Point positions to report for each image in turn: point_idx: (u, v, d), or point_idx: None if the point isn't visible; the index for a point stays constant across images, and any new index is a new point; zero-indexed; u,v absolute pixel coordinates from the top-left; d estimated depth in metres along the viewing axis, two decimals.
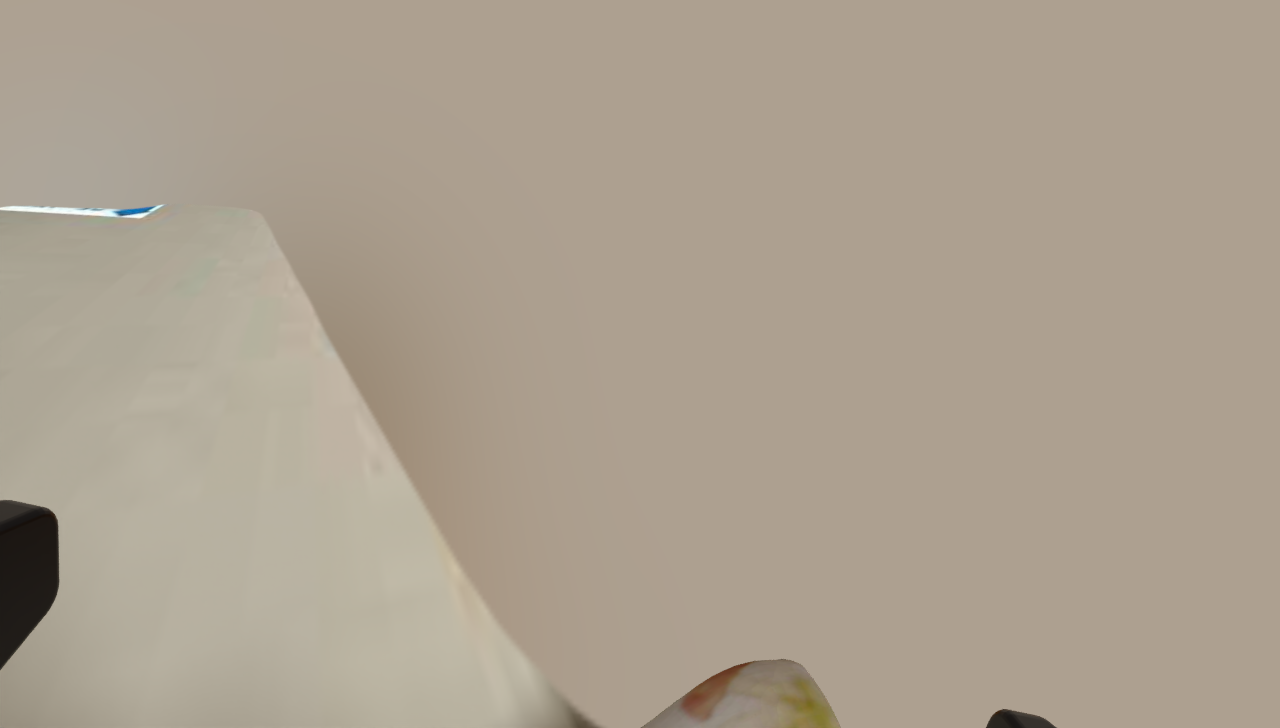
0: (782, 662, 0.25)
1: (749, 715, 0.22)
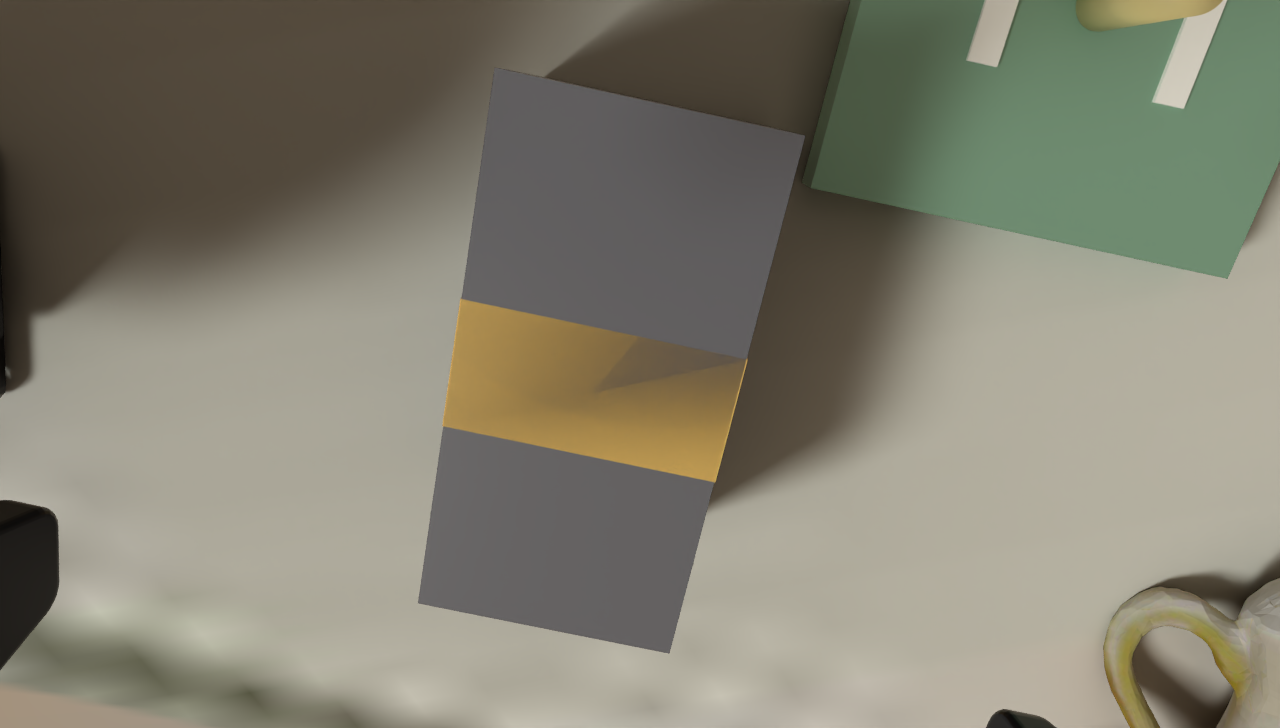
0: None
1: None
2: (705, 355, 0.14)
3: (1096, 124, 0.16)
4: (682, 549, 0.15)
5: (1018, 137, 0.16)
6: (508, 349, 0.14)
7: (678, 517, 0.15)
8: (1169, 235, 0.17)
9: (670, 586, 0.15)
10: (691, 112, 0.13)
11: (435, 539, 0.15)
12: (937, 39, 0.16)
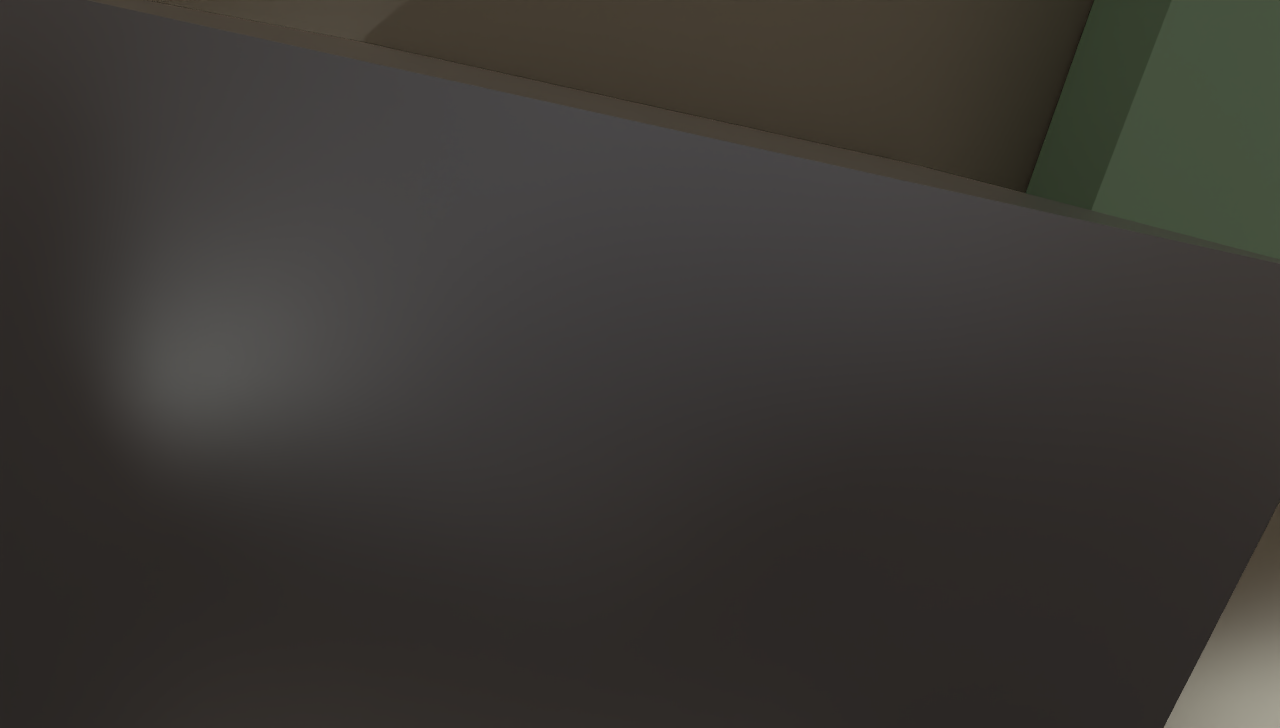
0: None
1: None
2: None
3: None
4: None
5: None
6: None
7: None
8: None
9: None
10: (773, 161, 0.02)
11: None
12: None
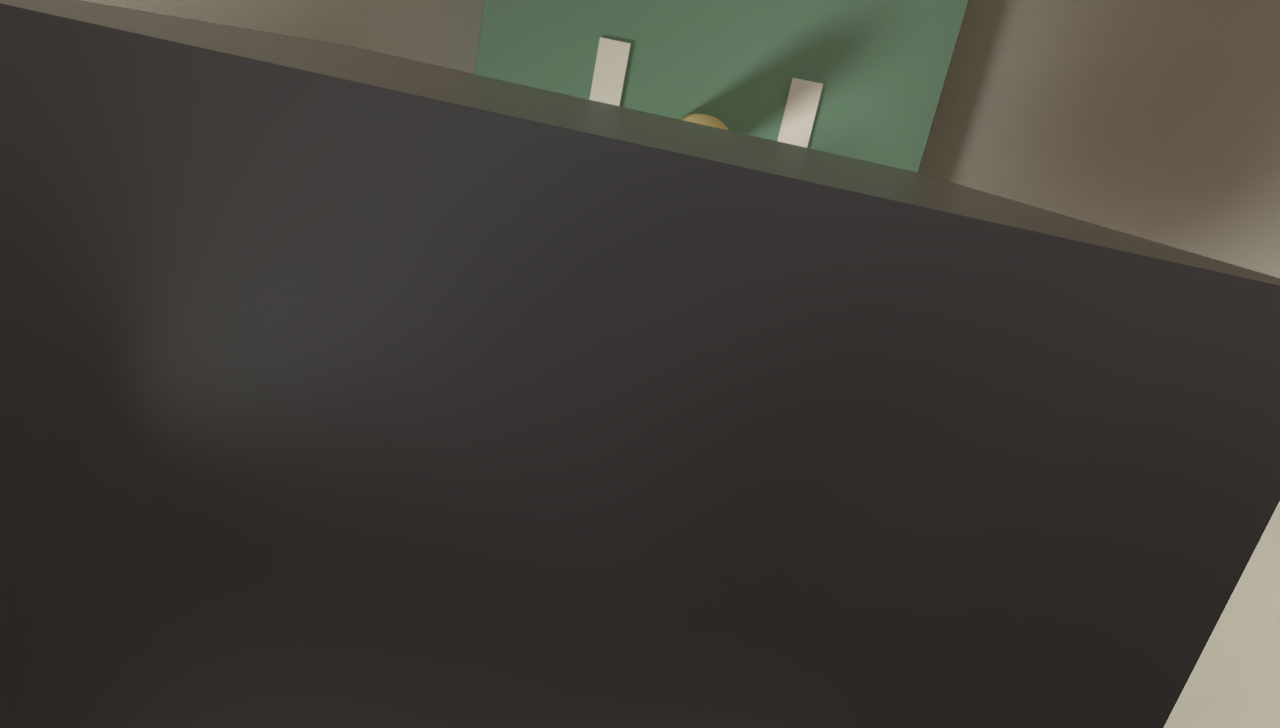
0: None
1: None
2: None
3: None
4: None
5: None
6: None
7: None
8: None
9: None
10: (764, 181, 0.02)
11: None
12: None
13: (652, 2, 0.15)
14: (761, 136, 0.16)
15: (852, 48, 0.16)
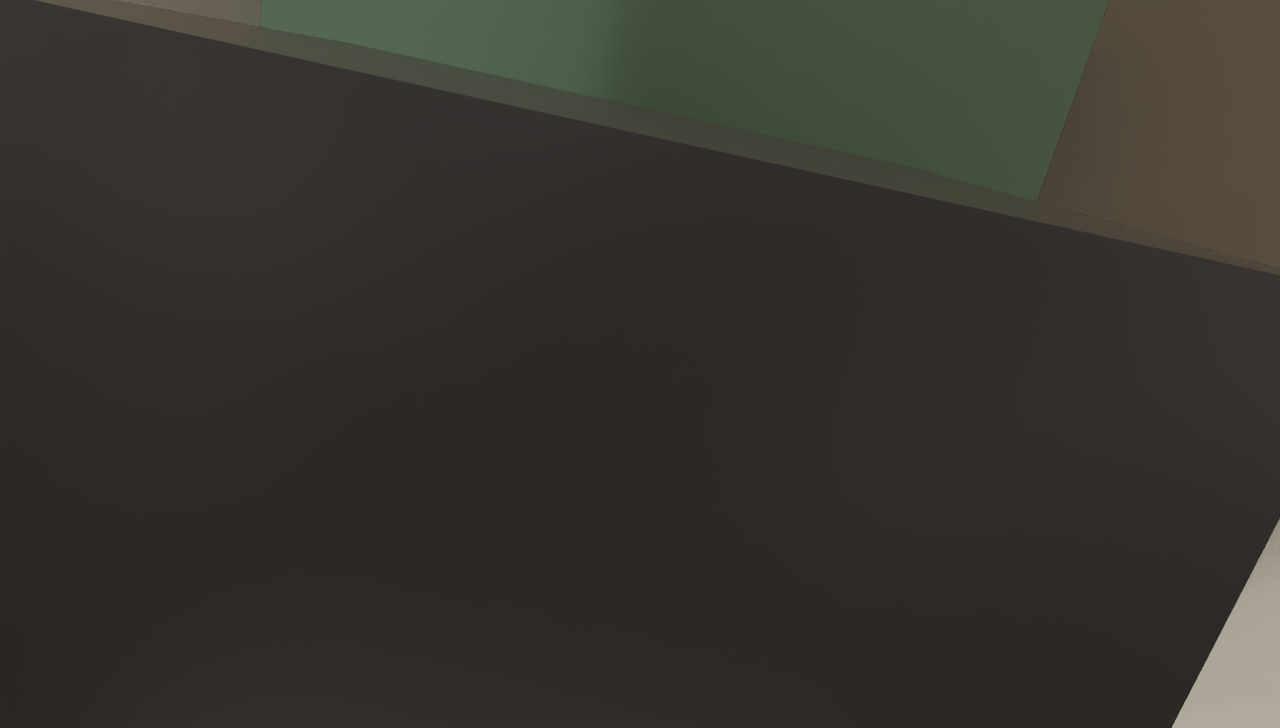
0: None
1: None
2: None
3: None
4: None
5: None
6: None
7: None
8: None
9: None
10: (772, 172, 0.02)
11: None
12: None
13: None
14: None
15: None
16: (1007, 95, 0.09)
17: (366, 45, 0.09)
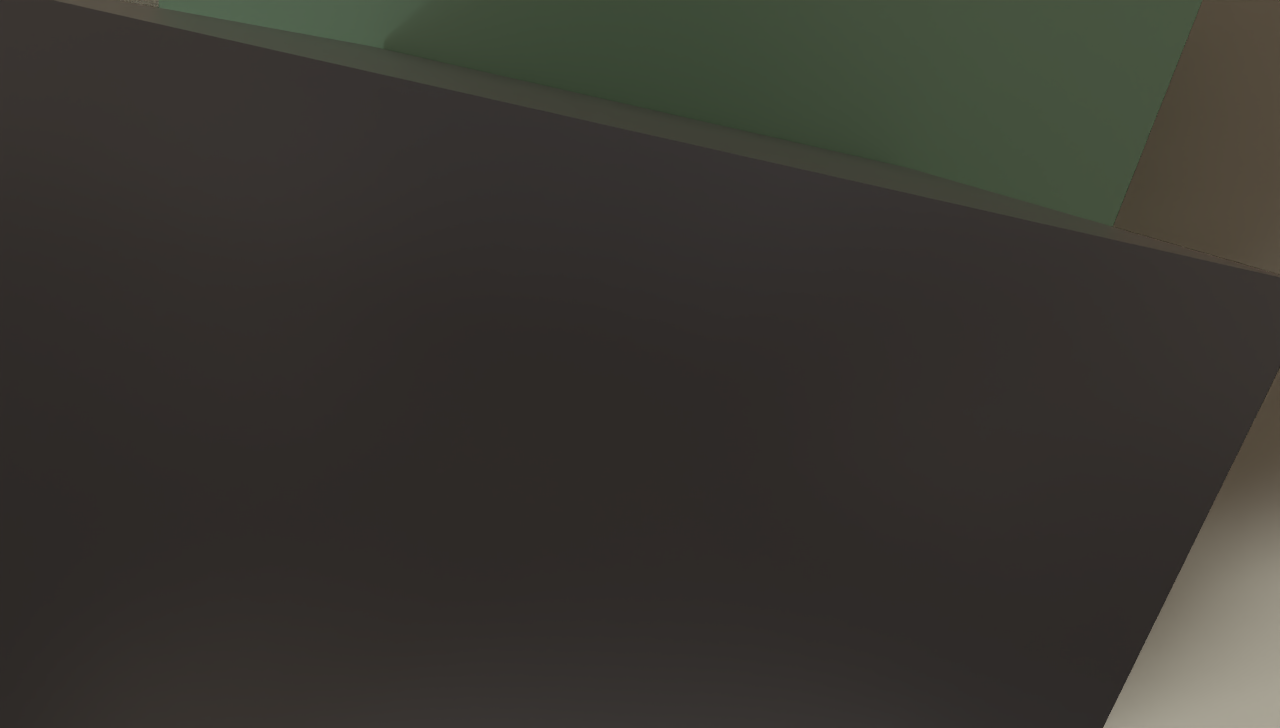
0: None
1: None
2: None
3: None
4: None
5: None
6: None
7: None
8: None
9: None
10: (766, 170, 0.03)
11: None
12: None
13: None
14: None
15: None
16: (1080, 94, 0.07)
17: None
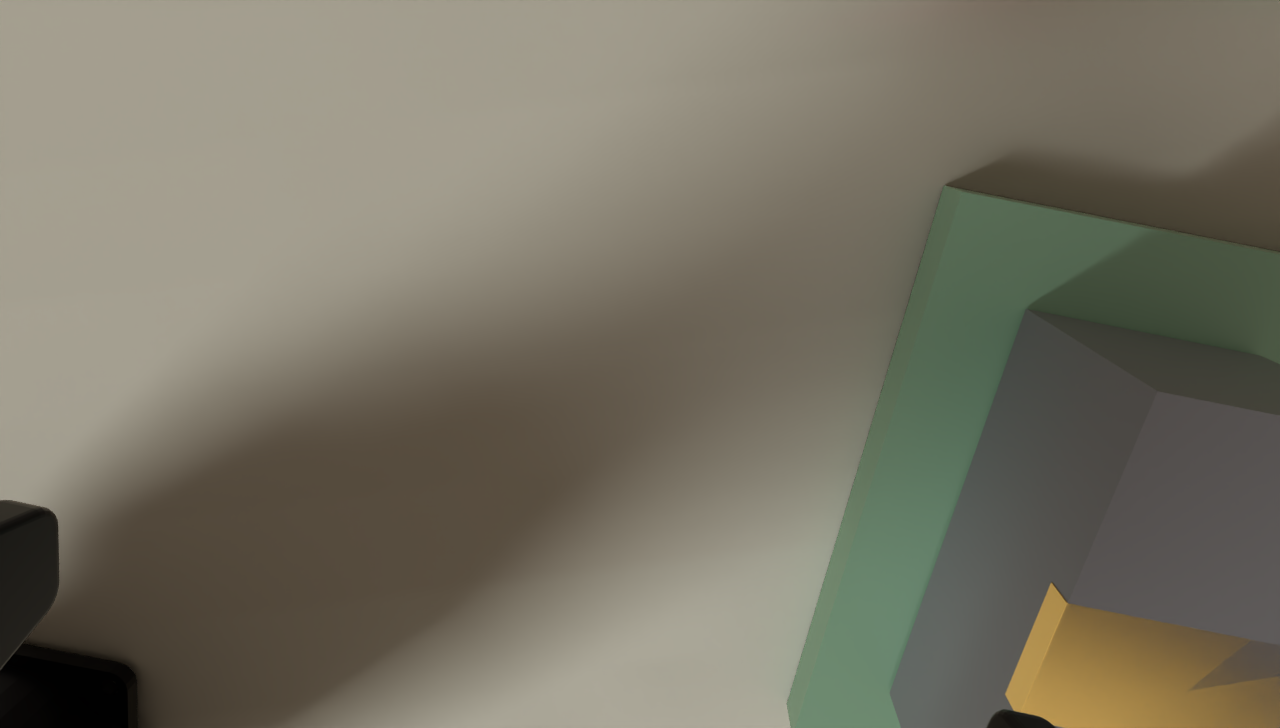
0: None
1: None
2: None
3: None
4: None
5: None
6: (1106, 649, 0.14)
7: None
8: None
9: None
10: None
11: None
12: (890, 644, 0.20)
13: None
14: None
15: None
16: None
17: (987, 302, 0.17)
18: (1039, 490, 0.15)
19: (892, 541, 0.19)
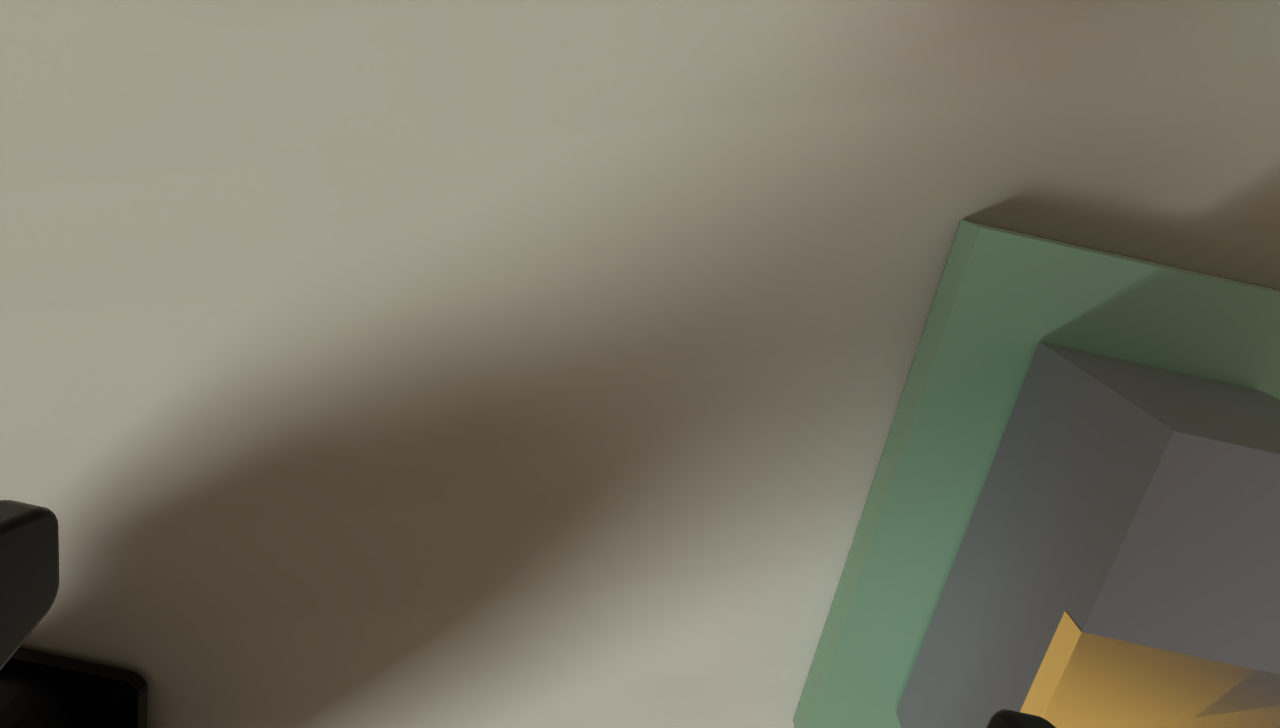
0: None
1: None
2: None
3: None
4: None
5: None
6: (1117, 677, 0.14)
7: None
8: None
9: None
10: None
11: None
12: (898, 664, 0.20)
13: None
14: None
15: None
16: None
17: (1001, 334, 0.18)
18: (1052, 520, 0.15)
19: (903, 564, 0.19)
